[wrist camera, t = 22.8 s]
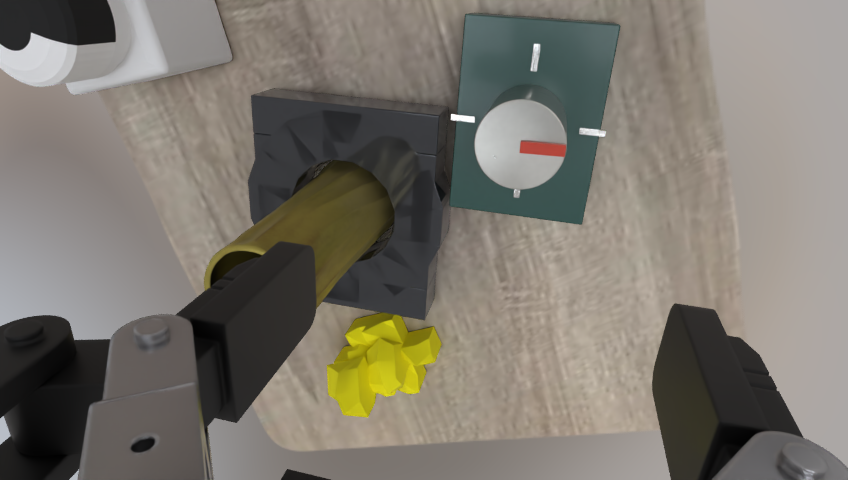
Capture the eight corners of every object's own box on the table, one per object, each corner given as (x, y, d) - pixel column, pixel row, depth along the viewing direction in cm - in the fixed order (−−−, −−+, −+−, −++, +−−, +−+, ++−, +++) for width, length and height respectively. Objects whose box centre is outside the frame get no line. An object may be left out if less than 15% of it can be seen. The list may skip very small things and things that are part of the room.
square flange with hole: (264, 87, 37) (240, 93, 34) (459, 107, 34) (450, 116, 31) (275, 271, 42) (256, 290, 40) (443, 300, 40) (434, 322, 37)
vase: (398, 243, 39) (316, 361, 26) (318, 232, 40) (202, 340, 27) (400, 160, 36) (310, 245, 24) (314, 151, 38) (185, 227, 25)
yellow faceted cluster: (451, 367, 42) (428, 439, 35) (362, 384, 45) (324, 454, 38) (423, 302, 40) (393, 364, 33) (332, 324, 43) (287, 386, 36)
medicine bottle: (108, -29, 36) (-85, -42, 25) (198, -58, 34) (29, -85, 23) (150, 81, 38) (-11, 111, 28) (236, 60, 36) (98, 85, 26)
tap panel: (468, 12, 32) (458, 13, 29) (621, 23, 30) (627, 25, 27) (452, 190, 36) (443, 206, 34) (585, 208, 35) (587, 226, 32)
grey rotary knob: (484, 159, 32) (470, 187, 27) (490, 81, 30) (476, 96, 25) (561, 166, 31) (560, 196, 26) (571, 87, 29) (573, 103, 25)
